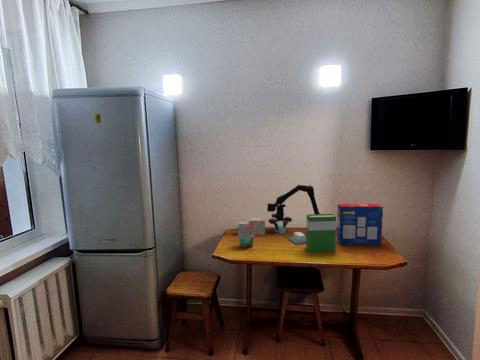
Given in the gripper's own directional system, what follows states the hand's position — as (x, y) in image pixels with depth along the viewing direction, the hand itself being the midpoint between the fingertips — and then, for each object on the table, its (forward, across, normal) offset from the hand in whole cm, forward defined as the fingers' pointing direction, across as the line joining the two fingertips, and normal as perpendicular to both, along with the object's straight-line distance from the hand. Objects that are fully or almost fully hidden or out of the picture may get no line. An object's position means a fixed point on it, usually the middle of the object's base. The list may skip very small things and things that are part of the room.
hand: (280, 230), depth 222 cm
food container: (+2, +38, +21) cm, 43 cm away
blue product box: (+2, -41, +43) cm, 59 cm away
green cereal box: (+2, -9, +43) cm, 44 cm away
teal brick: (+1, 0, 0) cm, 1 cm away
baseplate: (+1, -4, +24) cm, 24 cm away
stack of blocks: (+2, +23, -4) cm, 24 cm away
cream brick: (0, -4, +24) cm, 24 cm away
